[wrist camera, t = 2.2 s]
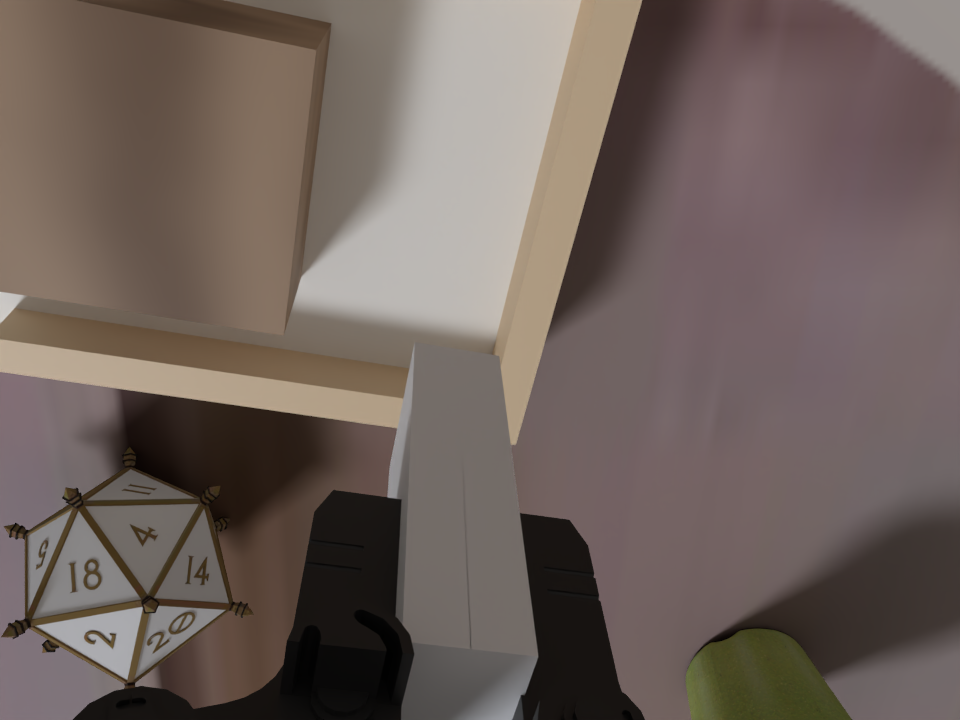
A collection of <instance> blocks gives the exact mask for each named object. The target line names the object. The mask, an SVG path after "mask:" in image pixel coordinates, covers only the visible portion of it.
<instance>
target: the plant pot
mask: <svg viewBox="0 0 960 720" xmlns="http://www.w3.org/2000/svg"><path fill="white" fill-rule="evenodd" d="M686 688H687V693H688V700H689V706H690V711H691V718H692V720H852V719H851V717H850V716H849V715H848V713H847V712H846V710H845V709H844V708H843V706H842V705H841V703H840V702H839V701H838V699H837V698H836V696H835V695H834V693H833V692H832V690H831V689H830V688H829V686H828V685H827V683H826V682H825V680H824V679H823V678H822V676H821V675H820V673H819V672H818V670H817V669H816V667H815V666H814V664H813V663H812V661H811V660H810V659H809V657H808V656H807V654H806V653H805V651H804V650H803V649H802V648H801V646H800V645H799V644H798V643H797V642H796V641H795V640H794V639H793V638H791V637H790V636H788V635H786V634H784V633H781V632H779V631H775V630H769V629H746V630H740V631H738V632H737V633H736V634H735V635H733V636H732V637H730V638H728V639H726V640H723V641H720V642H712V643H709V644H708V645H706V646H705V647H704V648H703V649H702V650H701V651H699V652H698V653H697V655H696V656H695V657H694V658H693V660H692V661H691V663H690V665H689V667H688V670H687V674H686Z"/></svg>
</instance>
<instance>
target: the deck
mask: <svg viewBox="0 0 960 720" xmlns="http://www.w3.org/2000/svg"><path fill="white" fill-rule="evenodd" d="M224 1H229V2H234V3H239V4H243V5H248V6H253V7H257V8H262V9H267V10H272V11H276V12H281V13H286V14H290V15H295V16H300V17H304V18H309V19H314V20H319V21H323V22H328V23H332V24H331V33H330V41H329V49H328V58H327V66H326V74H325V83H324V91H323V99H322V108H321V116H320V124H319V133H318V141H317V149H316V158H315V166H314V174H313V183H312V191H311V199H310V208H309V216H308V224H307V233H306V241H305V249H304V258H303V266H302V274H301V280H300V283H299V286H298V290H297V293H296V296H295V300H294V303H293V307H292V310H291V313H290V317H289V320H288V323H287V327H286V330H285V334H284V336H282V335H276V334H269V333H263V332H257V331H250V330H244V329H237V328H231V327H224V326H218V325H212V324H205V323H199V322H192V321H186V320H179V319H173V318H166V317H160V316H154V315H147V314H141V313H134V312H128V311H121V310H115V309H108V308H102V307H96V306H89V305H83V304H76V303H70V302H63V301H57V300H51V299H44V298H38V297H31V296H25V295H18V294H12V293H5V292H0V372H5V373H12V374H19V375H26V376H33V377H40V378H47V379H54V380H61V381H69V382H76V383H83V384H90V385H97V386H104V387H111V388H118V389H125V390H132V391H139V392H146V393H153V394H160V395H167V396H174V397H181V398H188V399H195V400H202V401H210V402H217V403H224V404H231V405H238V406H245V407H252V408H259V409H266V410H273V411H280V412H287V413H294V414H301V415H308V416H315V417H322V418H329V419H336V420H343V421H351V422H358V423H365V424H372V425H379V426H386V427H393V428H398V423H399V418H400V413H401V408H402V403H403V398H404V393H405V388H406V383H407V378H408V373H409V368H410V363H411V358H412V353H413V348H414V343H415V342H417V343H424V344H430V345H436V346H442V347H448V348H454V349H460V350H467V351H473V352H479V353H485V354H491V355H497V356H499V358H500V366H501V374H502V381H503V389H504V397H505V404H506V412H507V420H508V427H509V435H510V443H511V444H513V445H516V442H517V439H518V435H519V432H520V428H521V425H522V421H523V418H524V414H525V410H526V407H527V403H528V400H529V396H530V393H531V389H532V386H533V382H534V379H535V375H536V372H537V368H538V365H539V361H540V358H541V354H542V351H543V347H544V344H545V340H546V337H547V333H548V330H549V326H550V323H551V319H552V316H553V312H554V309H555V305H556V302H557V298H558V295H559V291H560V288H561V284H562V281H563V277H564V273H565V270H566V266H567V263H568V259H569V256H570V252H571V249H572V245H573V242H574V238H575V235H576V231H577V228H578V224H579V221H580V217H581V214H582V210H583V207H584V203H585V200H586V196H587V193H588V189H589V186H590V182H591V179H592V175H593V172H594V168H595V165H596V161H597V158H598V154H599V151H600V147H601V144H602V140H603V136H604V133H605V129H606V126H607V122H608V119H609V115H610V112H611V108H612V105H613V101H614V98H615V94H616V91H617V87H618V84H619V80H620V77H621V73H622V70H623V66H624V63H625V59H626V56H627V52H628V49H629V45H630V42H631V38H632V35H633V31H634V28H635V24H636V21H637V17H638V14H639V10H640V7H641V3H642V0H224Z"/></svg>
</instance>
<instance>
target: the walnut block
mask: <svg viewBox="0 0 960 720" xmlns="http://www.w3.org/2000/svg"><path fill="white" fill-rule="evenodd" d="M331 24H332V23H328V22H323V21H319V20H314V19H309V18H304V17H300V16H295V15H290V14H286V13H281V12H276V11H272V10H267V9H262V8H257V7H253V6H248V5H243V4H239V3H234V2H229V1H224V0H0V292H5V293H12V294H18V295H25V296H31V297H38V298H44V299H51V300H57V301H63V302H70V303H76V304H83V305H89V306H96V307H102V308H108V309H115V310H121V311H128V312H134V313H141V314H147V315H154V316H160V317H166V318H173V319H179V320H186V321H192V322H199V323H205V324H212V325H218V326H224V327H231V328H237V329H244V330H250V331H257V332H263V333H269V334H276V335H282V336H284V334H285V330H286V327H287V323H288V320H289V317H290V313H291V310H292V307H293V303H294V300H295V296H296V293H297V290H298V286H299V283H300V280H301V274H302V266H303V258H304V249H305V241H306V233H307V224H308V216H309V208H310V199H311V191H312V183H313V174H314V166H315V158H316V149H317V141H318V133H319V124H320V116H321V108H322V99H323V91H324V83H325V74H326V66H327V58H328V49H329V41H330V33H331Z"/></svg>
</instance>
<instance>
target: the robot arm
mask: <svg viewBox="0 0 960 720" xmlns="http://www.w3.org/2000/svg"><path fill="white" fill-rule="evenodd" d="M593 576H594V571H593V566H592V562H591V557H590V553H589V548H588V545H587V544H586V542H585V541H584V540H583V538H582V537H581V535H580V534H579V533H578V531H577V530H576V529H575V527H574V526H573V524H572V523H571V522H570V520H566V519H559V518H551V517H544V516H537V515H529V514H522V513H520V512H519V504H518V497H517V489H516V481H515V474H514V466H513V458H512V451H511V443H510V435H509V427H508V420H507V412H506V404H505V397H504V389H503V381H502V374H501V366H500V358H499V356H497V355H491V354H485V353H479V352H473V351H467V350H460V349H454V348H448V347H442V346H436V345H430V344H424V343H417V342H415V343H414V348H413V353H412V358H411V363H410V368H409V373H408V378H407V383H406V388H405V393H404V398H403V403H402V408H401V413H400V418H399V423H398V428H397V433H396V438H395V443H394V448H393V453H392V458H391V463H390V470H389V484H388V497H381V496H373V495H366V494H359V493H351V492H344V491H336V490H333V491H332V492H331V493H330V495H329V496H328V497H327V498H326V499H325V500H324V501H323V503H322V504H321V505H320V506H319V507H318V508H317V510H316V511H315V512H314V518H313V523H312V528H311V534H310V539H309V545H308V550H307V555H306V561H305V567H304V572H303V577H302V582H301V588H300V593H299V599H298V604H297V609H296V615H295V620H294V626H293V629H292V631H291V633H290V635H289V638H288V640H287V645H286V652H285V659H284V665H283V666H282V668H281V669H280V671H279V672H278V673H277V675H276V676H275V677H274V678H273V679H272V680H271V681H270V682H269V683H267V684H266V685H265V686H264V687H263V688H262V689H260V690H258V691H256V692H254V693H252V694H250V695H249V696H247V697H245V698H241V699H238V700H235V701H231V702H228V703H224V704H218V705H213V706H208V707H202V708H197V709H193V708H192V707H191V705H190V704H189V703H188V701H187V700H185V699H183V698H181V697H179V696H178V695H176V694H174V693H172V692H170V691H168V690H166V689H159V688H151V687H144V686H139V687H134V688H128V689H122V690H117V691H113V692H111V693H109V694H107V695H105V696H103V697H101V698H99V699H97V700H95V701H93V702H91V703H89V704H88V705H87V706H86V707H85V708H84V709H83V710H82V711H81V712H80V713H79V714H78V715H77V716H76V717H75V718H74V719H73V720H645V719H644V717H643V714H642V712H641V711H640V709H639V708H638V707H637V706H636V705H635V704H634V703H633V702H632V701H631V700H630V698H629V697H628V696H627V695H626V694H624V693H623V692H622V691H621V688H620V685H619V682H618V678H617V673H616V669H615V664H614V660H613V655H612V651H611V646H610V642H609V638H608V633H607V629H606V624H605V620H604V615H603V611H602V606H601V602H600V601H599V600H598V598H599V593H598V588H597V584H596V580H595V578H594V577H593Z"/></svg>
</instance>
